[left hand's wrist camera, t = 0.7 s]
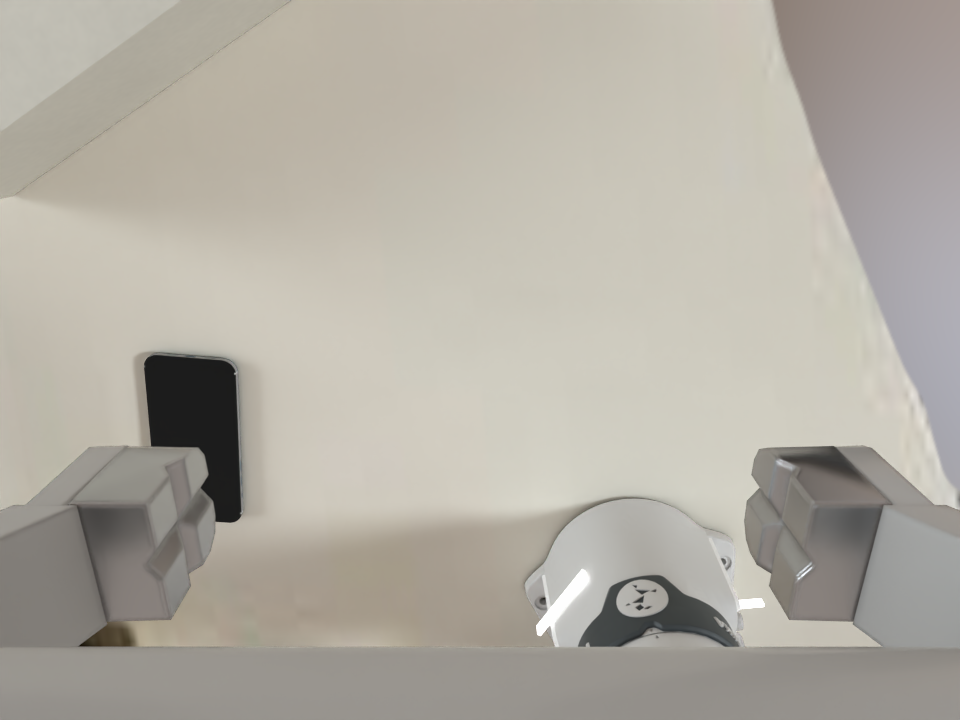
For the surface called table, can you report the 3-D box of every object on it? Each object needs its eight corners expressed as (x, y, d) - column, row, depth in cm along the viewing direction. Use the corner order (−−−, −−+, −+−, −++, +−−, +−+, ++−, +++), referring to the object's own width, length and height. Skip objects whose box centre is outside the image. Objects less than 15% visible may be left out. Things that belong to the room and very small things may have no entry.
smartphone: (235, 361, 54) (242, 524, 59) (238, 358, 54) (244, 519, 60) (141, 354, 54) (156, 517, 59) (145, 351, 54) (160, 513, 59)
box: (264, -123, 43) (187, -204, 32) (324, -23, 45) (270, -65, 34) (-54, 115, 48) (-218, 119, 37) (11, 196, 50) (-125, 223, 39)
